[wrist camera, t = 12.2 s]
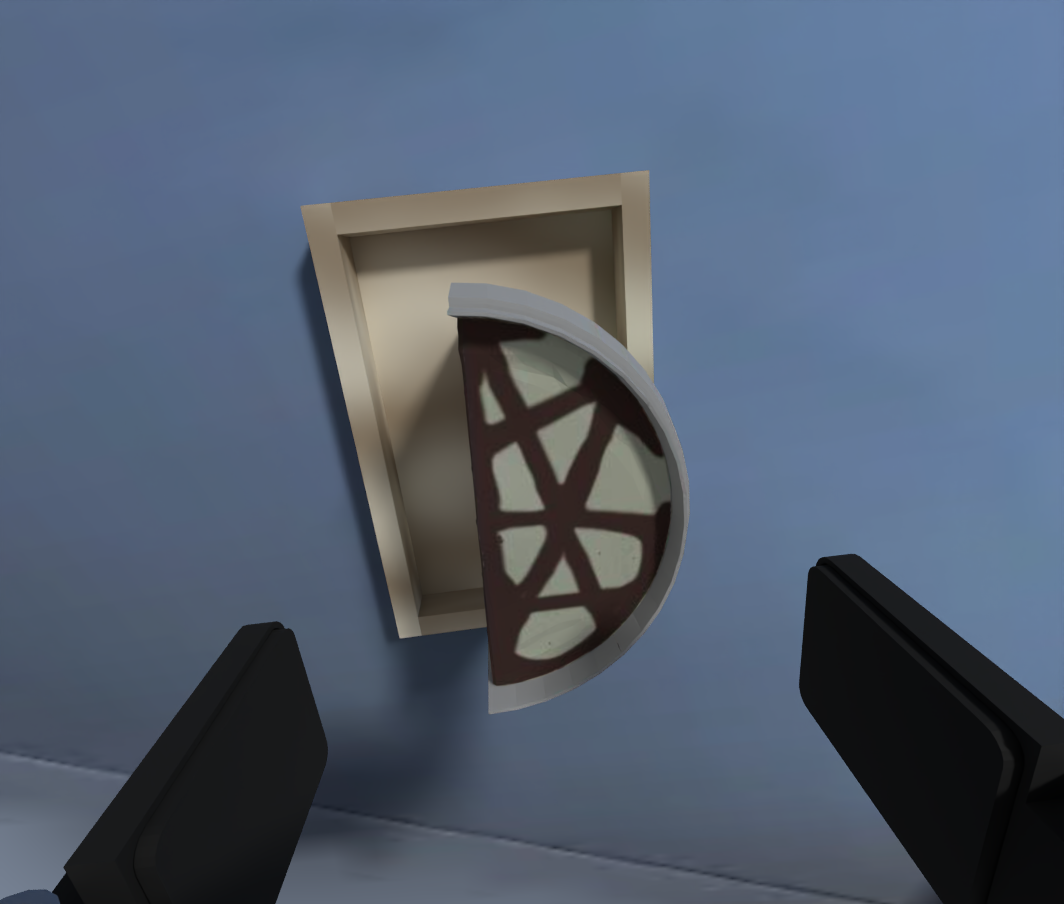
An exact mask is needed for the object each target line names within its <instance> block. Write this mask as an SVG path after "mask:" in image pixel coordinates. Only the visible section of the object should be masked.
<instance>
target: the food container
mask: <svg viewBox="0 0 1064 904" xmlns="http://www.w3.org/2000/svg"><path fill="white" fill-rule="evenodd" d="M448 302H449V309H448V310H447V315H449V316H452V317H455V318H457V330H458V351H459V356H460V360H461V364H462V373H463V382H464V395H465V404H466V415H467V426H468V436H469V445H470V455H471V464H472V466H471V470H472V475H473V486H474V497H475V508H476V524H477V530H478V540H479V549H480V558H481V567H482V578H483V590H484V602H485V613H486V623H487V633H488V684H489V714H494V713H500V712H506V711H512V710H518V709H521V708H525V707H528V706H532V705H535V704H538V703H542V702H545V701H548V700H550V699H553V698H555V697H557V696H559V695H562V694H564V693H566V692H569V691H571V690H573V689H575V688H577V687H579V686H580V685H582V684H584V683H585V682H587V681H589V680H590V679H592V678H594V677H595V676H597V675H599V674H600V673H602V672H603V671H604V670H605V669H607V668H608V667H609V666H610V665H612V664H613V663H614V662H615V661H617V660H618V659H619V658H620V657H622V656H623V655H624V654H625V653H626V652H627V651H628V650H629V649H630V648H631V647H632V646H633V645H634V644H635V643H636V641H637V640H638V639H639V638H640V637H641V636H642V635H643V634H644V633H645V632H646V630H647V629H648V627H649V626H650V624H651V623H652V622H653V620H654V619H655V617H656V616H657V615H658V613H659V612H660V610H661V609H662V607H663V605H664V603H665V601H666V599H667V597H668V595H669V593H670V591H671V589H672V587H673V585H674V583H675V580H676V576H677V573H678V570H679V567H680V564H681V560H682V557H683V554H684V547H685V542H686V535H687V528H688V521H689V514H690V506H689V480H688V475H687V470H686V465H685V460H684V455H683V450H682V447H681V444H680V441H679V439H678V436H677V433H676V430H675V428H674V425H673V423H672V420H671V418H670V415H669V413H668V410H667V408H666V405H665V403H664V400H663V398H662V397H661V395H660V393H659V392H658V390H657V388H656V387H655V385H654V384H653V382H652V380H651V379H650V377H649V376H648V374H647V372H646V371H645V370H644V368H643V367H642V366H641V365H640V364H639V363H638V362H637V361H636V359H635V358H634V357H633V356H632V355H631V354H630V353H629V352H628V350H627V349H626V348H625V347H624V346H623V345H622V344H621V343H620V342H619V341H617V340H616V339H615V338H614V337H612V336H611V335H610V334H609V333H607V332H606V331H605V330H604V329H602V328H601V327H600V326H599V325H597V324H596V323H595V322H593V321H592V320H590V319H588V318H586V317H584V316H583V315H581V314H579V313H577V312H576V311H574V310H572V309H570V308H568V307H567V306H565V305H563V304H561V303H558V302H556V301H553V300H550V299H547V298H544V297H542V296H539V295H536V294H533V293H531V292H528V291H525V290H519V289H514V288H509V287H503V286H498V285H492V284H487V283H451V285H450V290H449V295H448Z"/></svg>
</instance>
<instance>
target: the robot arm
mask: <svg viewBox="0 0 1064 904" xmlns="http://www.w3.org/2000/svg"><path fill="white" fill-rule="evenodd" d="M799 688H800V693H801V697H802V699H803V702H804V704H805V706H806V707H807V709H808V710H809V712H810V713H811V715H812V716H813V717H814V719H815V720H816V722H817V723H818V725H819V726H820V727H821V729H822V730H823V732H824V733H825V735H826V736H827V738H828V739H829V740H830V742H831V743H832V745H833V746H834V748H835V749H836V750H837V752H838V753H839V755H840V756H841V758H842V759H843V760H844V762H845V763H846V765H847V766H848V768H849V769H850V771H851V772H852V773H853V775H854V776H855V778H856V779H857V781H858V782H859V783H860V785H861V786H862V788H863V789H864V791H865V792H866V793H867V795H868V796H869V798H870V799H871V801H872V802H873V804H874V805H875V806H876V808H877V809H878V811H879V812H880V814H881V815H882V816H883V818H884V819H885V821H886V822H887V824H888V825H889V826H890V828H891V829H892V831H893V832H894V834H895V835H896V837H897V838H898V839H899V841H900V842H901V844H902V845H903V847H904V848H905V849H906V851H907V852H908V854H909V855H910V857H911V858H912V860H913V861H914V862H915V864H916V865H917V867H918V868H919V870H920V871H921V872H922V874H923V875H924V877H925V878H926V880H927V881H928V882H929V884H930V885H931V887H932V888H933V890H934V891H935V893H936V894H937V895H938V897H939V898H940V900H941V901H942V902H943V904H1064V719H1063V718H1062V717H1061V716H1060V715H1058V714H1057V713H1056V712H1054V711H1053V710H1052V709H1051V708H1049V707H1048V706H1047V705H1046V704H1044V703H1043V702H1042V701H1041V700H1039V699H1038V698H1037V697H1036V696H1034V695H1033V694H1032V693H1031V692H1029V691H1028V690H1027V689H1026V688H1024V687H1023V686H1022V685H1021V684H1019V683H1018V682H1017V681H1016V680H1014V679H1013V678H1012V677H1011V676H1009V675H1008V674H1007V673H1006V672H1004V671H1003V670H1002V669H1000V668H999V667H998V666H997V665H995V664H994V663H993V662H992V661H990V660H989V659H988V658H987V657H985V656H984V655H983V654H982V653H980V652H979V651H978V650H977V649H975V648H974V647H973V646H972V645H970V644H969V643H968V642H967V641H965V640H964V639H963V638H962V637H960V636H959V635H958V634H957V633H955V632H954V631H953V630H952V629H950V628H949V627H948V626H946V625H945V624H944V623H943V622H941V621H940V620H939V619H938V618H936V617H935V616H934V615H933V614H931V613H930V612H929V611H928V610H926V609H925V608H924V607H923V606H921V605H920V604H919V603H918V602H916V601H915V600H914V599H913V598H911V597H910V596H909V595H908V594H906V593H905V592H904V591H903V590H901V589H900V588H899V587H898V586H896V585H895V584H894V583H892V582H891V581H890V580H889V579H887V578H886V577H885V576H884V575H882V574H881V573H880V572H879V571H877V570H876V569H875V568H874V567H872V566H871V565H870V564H869V563H867V562H866V561H865V560H864V559H862V558H861V557H860V556H858V555H856V554H846V555H837V556H829V557H822V558H820V559H819V560H818V562H817V564H816V566H814V567H811V568H810V570H809V573H808V581H807V594H806V606H805V618H804V630H803V643H802V655H801V667H800V679H799ZM327 754H328V746H327V740H326V737H325V733H324V730H323V727H322V724H321V720H320V717H319V714H318V710H317V707H316V704H315V700H314V697H313V694H312V691H311V687H310V684H309V681H308V677H307V674H306V671H305V667H304V664H303V661H302V658H301V654H300V651H299V648H298V644H297V641H296V638H295V635H294V632H293V631H292V630H291V629H289V628H288V629H285V628H284V626H283V625H282V624H281V623H280V622H277V621H276V622H268V623H259V624H251V625H245V626H243V627H242V628H241V629H240V630H239V631H238V632H237V634H236V635H235V636H234V638H233V639H232V640H231V642H230V643H229V644H228V646H227V647H226V648H225V650H224V651H223V652H222V654H221V655H220V657H219V658H218V659H217V661H216V662H215V663H214V665H213V666H212V667H211V669H210V670H209V671H208V673H207V674H206V675H205V677H204V678H203V679H202V681H201V682H200V683H199V685H198V686H197V688H196V689H195V690H194V692H193V693H192V694H191V696H190V697H189V698H188V700H187V701H186V702H185V704H184V705H183V706H182V708H181V709H180V710H179V712H178V713H177V714H176V716H175V717H174V719H173V720H172V721H171V723H170V724H169V725H168V727H167V728H166V729H165V731H164V732H163V733H162V735H161V736H160V737H159V739H158V740H157V741H156V743H155V744H154V746H153V747H152V748H151V750H150V751H149V752H148V754H147V755H146V756H145V758H144V759H143V760H142V762H141V763H140V764H139V766H138V767H137V768H136V770H135V771H134V772H133V774H132V775H131V777H130V778H129V779H128V781H127V782H126V783H125V785H124V786H123V787H122V789H121V790H120V791H119V793H118V794H117V795H116V797H115V798H114V799H113V801H112V802H111V803H110V805H109V806H108V808H107V809H106V810H105V812H104V813H103V814H102V816H101V817H100V818H99V820H98V821H97V822H96V824H95V825H94V826H93V828H92V829H91V830H90V832H89V833H88V835H87V836H86V837H85V839H84V840H83V841H82V843H81V844H80V845H79V847H78V848H77V849H76V851H75V852H74V854H73V855H72V856H71V857H70V859H69V860H68V861H67V863H66V864H65V866H64V869H65V871H66V874H65V875H64V876H63V878H62V879H61V881H60V882H59V883H58V885H57V886H56V887H55V889H54V890H53V892H52V893H51V892H50V891H48V890H27V891H24V892H21V893H17V894H14V895H11V896H8V897H5V898H3V899H1V900H0V904H275V903H276V900H277V898H278V895H279V892H280V889H281V887H282V884H283V881H284V878H285V876H286V873H287V870H288V867H289V865H290V862H291V859H292V856H293V854H294V851H295V848H296V845H297V843H298V840H299V837H300V834H301V832H302V829H303V826H304V823H305V820H306V818H307V815H308V812H309V809H310V807H311V804H312V801H313V798H314V796H315V793H316V790H317V787H318V785H319V782H320V779H321V776H322V774H323V771H324V768H325V765H326V761H327Z"/></svg>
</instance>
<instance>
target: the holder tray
mask: <svg viewBox="0 0 1064 904" xmlns="http://www.w3.org/2000/svg"><path fill="white" fill-rule="evenodd" d="M301 210H302V215H303V219H304V224H305V228H306V232H307V237H308V241H309V245H310V250H311V254H312V258H313V263H314V267H315V271H316V276H317V280H318V285H319V289H320V293H321V298H322V302H323V306H324V311H325V315H326V319H327V324H328V328H329V332H330V337H331V341H332V345H333V350H334V354H335V359H336V363H337V367H338V372H339V376H340V380H341V385H342V389H343V393H344V398H345V402H346V406H347V411H348V415H349V420H350V424H351V428H352V433H353V437H354V441H355V446H356V450H357V454H358V459H359V463H360V467H361V472H362V476H363V480H364V485H365V489H366V494H367V498H368V502H369V507H370V511H371V515H372V520H373V524H374V528H375V533H376V537H377V541H378V546H379V550H380V555H381V559H382V563H383V568H384V572H385V576H386V581H387V585H388V589H389V594H390V598H391V602H392V607H393V611H394V615H395V620H396V624H397V629H398V633H399V637H400V638H408V637H415V636H423V635H430V634H437V633H445V632H452V631H460V630H467V629H475V628H482V627H487V623H486V613H485V602H484V590H483V578H482V567H481V558H480V549H479V540H478V530H477V524H476V508H475V497H474V486H473V475H472V470H471V466H472V464H471V455H470V445H469V436H468V426H467V415H466V404H465V395H464V382H463V373H462V364H461V360H460V356H459V351H458V330H457V318H455V317H452V316H449V315H447V310H448V309H449V302H448V295H449V290H450V285H451V283H487V284H492V285H498V286H503V287H509V288H514V289H519V290H525V291H528V292H531V293H533V294H536V295H539V296H542V297H544V298H547V299H550V300H553V301H556V302H558V303H561V304H563V305H565V306H567V307H568V308H570V309H572V310H574V311H576V312H577V313H579V314H581V315H583V316H584V317H586V318H588V319H590V320H592V321H593V322H595V323H596V324H597V325H599V326H600V327H601V328H602V329H604V330H605V331H606V332H607V333H609V334H610V335H611V336H612V337H614V338H615V339H616V340H617V341H619V342H620V343H621V344H622V345H623V346H624V347H625V348H626V349H627V350H628V352H629V353H630V354H631V355H632V356H633V357H634V358H635V359H636V361H637V362H638V363H639V364H640V365H641V366H642V367H643V368H644V370H645V371H646V372H647V374H648V376H649V377H650V379H651V380H652V382H653V384H654V371H653V326H652V281H651V237H650V192H649V170H647V171H637V172H628V173H618V174H608V175H598V176H589V177H579V178H569V179H559V180H549V181H540V182H530V183H520V184H510V185H501V186H491V187H481V188H471V189H462V190H452V191H442V192H432V193H422V194H413V195H403V196H393V197H383V198H374V199H364V200H354V201H344V202H335V203H325V204H315V205H305V206H301Z"/></svg>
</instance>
